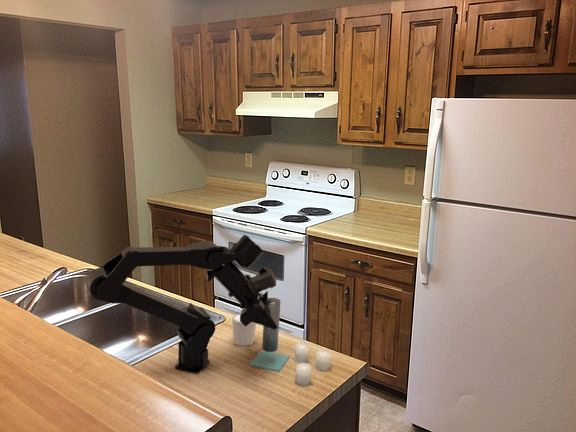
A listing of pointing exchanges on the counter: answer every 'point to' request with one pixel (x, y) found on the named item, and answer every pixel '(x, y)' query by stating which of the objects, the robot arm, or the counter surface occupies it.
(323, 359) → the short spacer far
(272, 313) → the dark metallic domed cylinder
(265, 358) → the teal pad
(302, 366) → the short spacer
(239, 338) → the white cylinder
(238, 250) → the robot arm
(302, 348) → the cylinder
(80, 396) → the counter surface
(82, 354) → the counter surface
